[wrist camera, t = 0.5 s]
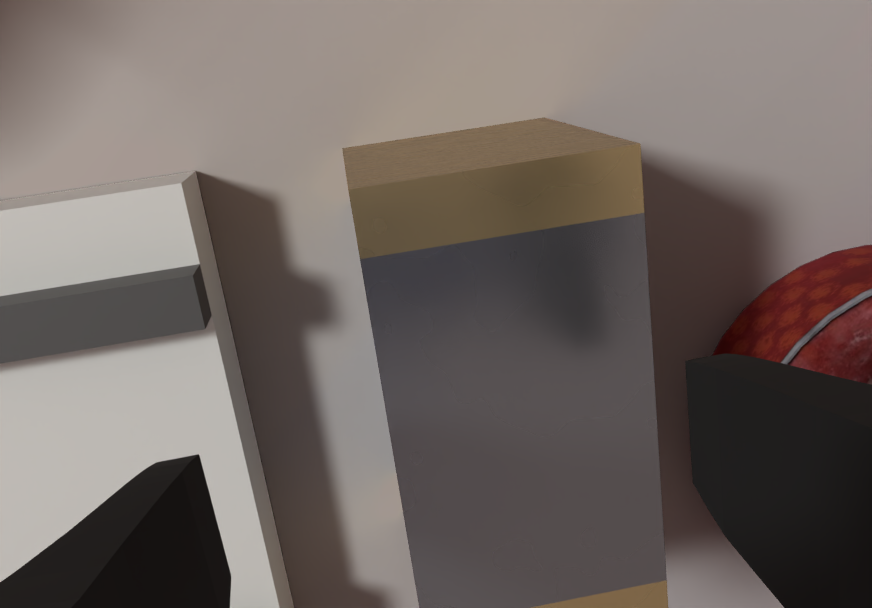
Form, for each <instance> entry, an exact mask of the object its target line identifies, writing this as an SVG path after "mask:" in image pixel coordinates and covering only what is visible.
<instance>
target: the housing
mask: <svg viewBox="0 0 872 608" xmlns="http://www.w3.org/2000/svg"><path fill="white" fill-rule="evenodd" d="M342 149H343V156H344V163H345V170H346V177H347V184H348V190H349V196H350V202H351V208H352V214H353V220H354V226H355V231H356V237H357V243H358V249H359V255H360V261H361V267H362V273H363V279H364V284H365V290H366V296H367V302H368V308H369V314H370V320H371V326H372V331H373V337H374V343H375V349H376V355H377V361H378V367H379V373H380V379H381V384H382V390H383V396H384V402H385V408H386V414H387V420H388V426H389V432H390V437H391V443H392V449H393V455H394V461H395V467H396V473H397V479H398V484H399V490H400V496H401V502H402V508H403V514H404V520H405V526H406V532H407V537H408V543H409V549H410V555H411V561H412V567H413V573H414V579H415V585H416V590H417V596H418V602H419V608H668V597H667V580H666V563H665V547H664V530H663V514H662V497H661V480H660V464H659V447H658V430H657V414H656V397H655V381H654V364H653V347H652V331H651V314H650V297H649V281H648V264H647V248H646V231H645V214H644V198H643V181H642V164H641V148H640V143H636V142H632V141H629V140H625V139H621V138H617V137H614V136H610V135H606V134H603V133H599V132H595V131H592V130H588V129H584V128H581V127H577V126H573V125H570V124H566V123H562V122H559V121H555V120H551V119H547V118H539V119H533V120H526V121H519V122H513V123H506V124H500V125H493V126H487V127H480V128H473V129H467V130H460V131H454V132H447V133H441V134H434V135H427V136H421V137H414V138H408V139H401V140H395V141H388V142H381V143H375V144H368V145H362V146H355V147H349V148H342Z"/></svg>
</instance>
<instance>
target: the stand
mask: <svg viewBox="0 0 872 608" xmlns="http://www.w3.org/2000/svg"><path fill="white" fill-rule="evenodd" d="M197 454H199V456H200V459H201V463H202V467H203V471H204V475H205V478H206V482H207V486H208V490H209V493H210V497H211V501H212V505H213V509H214V512H215V516H216V520H217V524H218V528H219V531H220V535H221V539H222V543H223V546H224V550H225V554H226V558H227V562H228V565H229V569H230V573H231V595H230V608H294V605H293V601H292V596H291V592H290V587H289V583H288V578H287V574H286V570H285V565H284V561H283V556H282V552H281V547H280V543H279V539H278V534H277V530H276V525H275V521H274V516H273V512H272V507H271V503H270V499H269V494H268V490H267V485H266V481H265V476H264V472H263V467H262V463H261V459H260V454H259V450H258V445H257V441H256V436H255V432H254V428H253V423H252V419H251V414H250V410H249V405H248V401H247V396H246V392H245V388H244V383H243V379H242V374H241V370H240V365H239V361H238V357H237V352H236V348H235V343H234V339H233V334H232V330H231V325H230V321H229V317H228V312H227V308H226V303H225V299H224V294H223V290H222V286H221V281H220V277H219V272H218V268H217V263H216V259H215V254H214V250H213V246H212V241H211V237H210V232H209V228H208V223H207V219H206V215H205V210H204V206H203V201H202V197H201V192H200V188H199V183H198V179H197V175H196V171H192V172H186V173H179V174H173V175H166V176H160V177H153V178H146V179H140V180H133V181H127V182H120V183H114V184H107V185H100V186H94V187H87V188H81V189H74V190H68V191H61V192H54V193H48V194H41V195H35V196H28V197H22V198H15V199H8V200H2V201H0V582H1V581H3V580H4V579H6V578H7V577H8V576H10V575H11V574H13V573H14V572H15V571H17V570H18V569H19V568H21V567H22V566H23V565H25V564H26V563H27V562H29V561H30V560H31V559H33V558H34V557H35V556H36V555H38V554H39V553H40V552H42V551H43V550H44V549H46V548H47V547H48V546H50V545H51V544H52V543H54V542H55V541H56V540H58V539H59V538H60V537H61V536H63V535H64V534H65V533H67V532H68V531H69V530H71V529H72V528H73V527H74V526H75V525H77V524H78V523H79V522H80V521H81V520H83V519H84V518H85V517H86V516H88V515H89V514H90V513H91V512H92V511H94V510H95V509H96V508H97V507H98V506H100V505H101V504H102V503H103V502H105V501H106V500H107V499H108V498H109V497H111V496H112V495H113V494H114V493H115V492H117V491H118V490H119V489H120V488H121V487H123V486H124V485H125V484H126V483H128V482H129V481H130V480H131V479H133V478H134V477H135V476H136V475H138V474H139V473H140V472H142V471H143V470H145V469H146V468H148V467H149V466H151V465H153V464H154V463H156V462H161V461H166V460H171V459H177V458H182V457H187V456H192V455H197Z"/></svg>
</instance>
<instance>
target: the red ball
mask: <svg viewBox="0 0 872 608" xmlns="http://www.w3.org/2000/svg"><path fill="white" fill-rule="evenodd" d="M719 354H738V355H745V356H751V357H756V358H760V359H765V360H770V361H774V362H779V363H783V364H787V365H791V366H795V367H799V368H803V369H807V370H812V371H816V372H820V373H824V374H828V375H832V376H836V377H841V378H845V379H849V380H853V381H858V382H862V383H867V384H871V385H872V245H864V246H859V247H855V248H850V249H845V250H841V251H836V252H832V253H830V254H827V255H825V256H823V257H820V258H818V259H816V260H813V261H811V262H808V263H806V264H804V265H801V266H799V267H798V268H796V269H795V270H793V271H792V272H790V273H788V274H787V275H785V276H784V277H782V278H781V279H779V280H778V281H776V282H775V283H773V284H771V285H770V286H769V287H768V288H767V289H765V290H764V291H763V292H762V293H761V294H760V295H759V296H758V297H757V298H756V299H755V300H753V301H752V302H751V303H750V304H749V305H748V306H747V307H746V308H745V309H744V310H743V311H742V312H741V313H740V315H739V316H738V317H737V318H736V320H735V321H734V322H733V324H732V325H731V326H730V327H729V329H728V330H727V331H726V333H725V334H724V335H723V336H722V338H721V339H720V341H719V343H718V345H717V347H716V349H715V351H714V353H713V354H712V356H714V355H719Z"/></svg>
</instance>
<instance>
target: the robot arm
mask: <svg viewBox="0 0 872 608" xmlns="http://www.w3.org/2000/svg"><path fill="white" fill-rule="evenodd" d="M685 363H686V379H687V396H688V412H689V428H690V444H691V460H692V477H693V484H694V485H695V487H696V489H697V491H698V492H699V494H700V496H701V497H702V499H703V501H704V503H705V504H706V506H707V508H708V510H709V511H710V513H711V514H712V516H713V518H714V519H715V521H716V522H717V524H718V526H719V527H720V529H721V530H722V532H723V533H724V535H725V536H726V537H727V539H728V540H729V541H730V542H731V544H732V545H733V546H734V547H735V549H736V550H737V551H738V552H739V554H740V555H741V556H742V557H743V558H744V560H745V561H746V562H747V563H748V564H749V566H750V567H751V568H752V569H753V571H754V572H755V573H756V574H757V575H758V577H759V578H760V579H761V580H762V581H763V583H764V584H765V585H766V586H767V587H768V588H769V590H770V591H771V592H772V593H773V594H774V596H775V597H776V598H777V599H778V600H779V602H780V603H781V604H782V605H783V606H784V608H872V385H871V384H867V383H862V382H858V381H853V380H849V379H845V378H841V377H836V376H832V375H828V374H824V373H820V372H816V371H812V370H807V369H803V368H799V367H795V366H791V365H787V364H783V363H779V362H774V361H770V360H765V359H760V358H756V357H751V356H745V355H738V354H719V355H714V356H709V357H704V358H698V359H693V360H688V361H685ZM230 595H231V573H230V569H229V565H228V562H227V558H226V554H225V550H224V546H223V543H222V539H221V535H220V531H219V528H218V524H217V520H216V516H215V512H214V509H213V505H212V501H211V497H210V493H209V490H208V486H207V482H206V478H205V475H204V471H203V467H202V463H201V459H200V456H199V454H197V455H192V456H187V457H182V458H177V459H171V460H166V461H161V462H156V463H154V464H153V465H151V466H149V467H148V468H146V469H145V470H143V471H142V472H140V473H139V474H138V475H136V476H135V477H134V478H133V479H131V480H130V481H129V482H128V483H126V484H125V485H124V486H123V487H121V488H120V489H119V490H118V491H117V492H115V493H114V494H113V495H112V496H111V497H109V498H108V499H107V500H106V501H105V502H103V503H102V504H101V505H100V506H98V507H97V508H96V509H95V510H94V511H92V512H91V513H90V514H89V515H88V516H86V517H85V518H84V519H83V520H81V521H80V522H79V523H78V524H77V525H75V526H74V527H73V528H72V529H71V530H69V531H68V532H67V533H65V534H64V535H63V536H61V537H60V538H59V539H58V540H56V541H55V542H54V543H52V544H51V545H50V546H48V547H47V548H46V549H44V550H43V551H42V552H40V553H39V554H38V555H36V556H35V557H34V558H33V559H31V560H30V561H29V562H27V563H26V564H25V565H23V566H22V567H21V568H19V569H18V570H17V571H15V572H14V573H13V574H11V575H10V576H8V577H7V578H6V579H4V580H3V581H1V582H0V608H230Z"/></svg>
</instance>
